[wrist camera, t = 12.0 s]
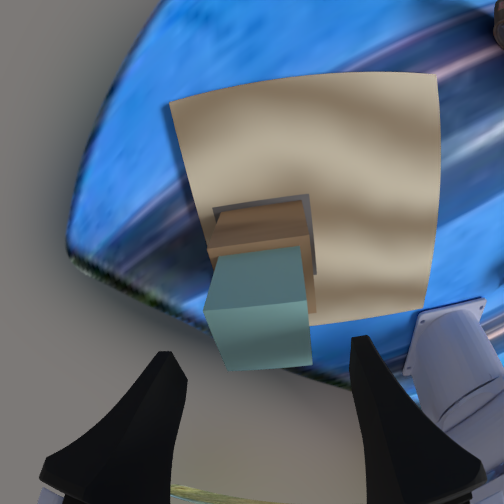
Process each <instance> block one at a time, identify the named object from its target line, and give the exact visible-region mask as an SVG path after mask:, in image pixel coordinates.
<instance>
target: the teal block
mask: <svg viewBox="0 0 504 504" xmlns="http://www.w3.org/2000/svg"><path fill="white" fill-rule="evenodd" d="M203 313H204V315H205V318H206V320H207V323H208V325H209V328H210V330H211V333H212V335H213V338H214V340H215V342H216V345H217V347H218V349H219V352H220V354H221V357H222V359H223V361H224V364H225V366H226V368H227V370H228V371H245V370H262V369H274V368H287V367H297V366H307V365H313V364H312V351H311V340H310V328H309V318H308V307H307V298H306V290H305V282H304V274H303V266H302V259H301V251H300V246H294V247H286V248H278V249H271V250H263V251H255V252H248V253H240V254H233V255H225V256H219V257H218V260H217V264H216V267H215V271H214V274H213V277H212V281H211V284H210V288H209V291H208V295H207V298H206V301H205V305H204V308H203Z"/></svg>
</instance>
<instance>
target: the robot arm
mask: <svg viewBox="0 0 504 504" xmlns="http://www.w3.org/2000/svg"><path fill="white" fill-rule="evenodd" d="M485 305H486V299H485V298H479V299H475V300H471V301H467V302H463V303H459V304H455V305H450V306H446V307H442V308H437V309H432V310H428V311H423V312H421V313H420V314H419V315H418V317H417V322H416V326H415V330H414V333H413V337H412V341H411V345H410V348H409V352H408V355H407V358H406V362H405V365H404V368H403V371H402V373H403V375H404V376H407V375H412V378H413V382H414V385H415V388H416V391H417V395H418V398H419V401H420V405H421V408H422V410H421V409H420V408H419V407H418V406H417V405H416V404H415V402H414V401H413V400H412V399H411V398H410V397H409V395H408V394H407V393H406V392H405V390H404V389H403V388H402V386H401V385H400V384H399V382H398V381H397V380H396V378H395V377H394V375H393V374H392V373H391V371H390V370H389V368H388V367H387V365H386V364H385V362H384V361H383V359H382V358H381V356H380V355H379V353H378V351H377V350H376V348H375V346H374V344H373V343H372V341H371V339H370V337H369V336H367V335H365V336H358V337H352V338H351V352H350V364H349V372H350V380H351V388H352V394H353V398H354V402H355V406H356V411H357V415H358V420H359V424H360V429H361V433H362V438H363V444H364V454H365V465H366V486H367V504H504V367H503V365H502V363H501V362H500V360H499V358H498V356H497V354H496V352H495V350H494V348H493V346H492V345H491V343H490V341H489V339H488V337H487V336H486V334H485V332H484V330H483V329H482V327H481V325H480V324H479V320H480V318H481V315H482V313H483V310H484V307H485ZM187 382H188V379H187V378H186V376H185V374H184V372H183V371H182V369H181V367H180V366H179V364H178V362H177V360H176V359H175V357H174V355H173V353H172V352H171V351H170V352H169V351H159V352H158V353H157V354H156V356H155V357H154V358H153V359H152V361H151V362H150V363H149V365H148V366H147V367H146V369H145V370H144V371H143V372H142V374H141V375H140V376H139V378H138V379H137V380H136V381H135V383H134V384H133V385H132V386H131V388H130V389H129V390H128V392H127V393H126V394H125V395H124V396H123V397H122V398H121V400H120V401H119V402H118V403H117V404H116V405H115V406H114V408H113V409H112V410H111V411H110V412H109V413H108V414H107V415H106V416H105V417H104V418H103V419H102V420H101V421H99V422H98V423H97V424H96V425H95V426H94V427H93V428H91V429H90V430H89V431H88V432H86V433H85V434H84V435H83V436H81V437H80V438H78V439H77V440H76V441H74V442H73V443H71V444H70V445H69V446H67V447H65V448H63V449H62V450H60V451H58V452H56V453H54V454H52V455H50V456H48V457H47V458H46V460H45V462H44V465H43V468H42V470H41V473H40V476H39V479H40V480H41V481H42V482H44V483H46V484H48V485H49V486H51V487H53V488H55V489H57V490H59V491H60V492H63V493H64V494H65V496H64V498H63V497H61V496H59V495H57V494H55V493H53V492H52V491H49V490H48V489H46V488H42V491H41V494H40V497H39V500H38V503H37V504H170V482H171V468H172V459H173V450H174V445H175V440H176V436H177V433H178V429H179V424H180V421H181V417H182V413H183V408H184V405H185V400H186V391H187Z"/></svg>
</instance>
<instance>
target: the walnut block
mask: <svg viewBox="0 0 504 504" xmlns="http://www.w3.org/2000/svg"><path fill="white" fill-rule="evenodd" d="M294 246H300V251H301V259H302V266H303V274H304V282H305V290H306V298H307V307H308V314H312V313H317V311H316V298H315V287H314V276H313V265H312V256H311V246H310V237H309V231H308V227H307V222H306V218H305V213H304V209H303V204H302V200H297V201H290V202H283V203H276V204H269V205H263V206H256V207H250V208H243V209H237V210H231V211H225V212H221V214H220V216H219V219H218V221H217V224H216V226H215V229H214V232H213V234H212V237H211V239H210V242H209V245H208V247H207V251H208V254H209V258H210V261H211V264H212V267H213V270H214V271H215V267H216V264H217V260H218V257H219V256H225V255H233V254H240V253H248V252H255V251H263V250H271V249H278V248H286V247H294Z"/></svg>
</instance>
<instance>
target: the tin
mask: <svg viewBox="0 0 504 504" xmlns="http://www.w3.org/2000/svg"><path fill="white" fill-rule="evenodd" d="M493 34H494V37H495V39H496V41H497V43H498V44H499V45H500V46H501V47H502V49H504V0H497V2H496V3H495V8H494V28H493Z"/></svg>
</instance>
